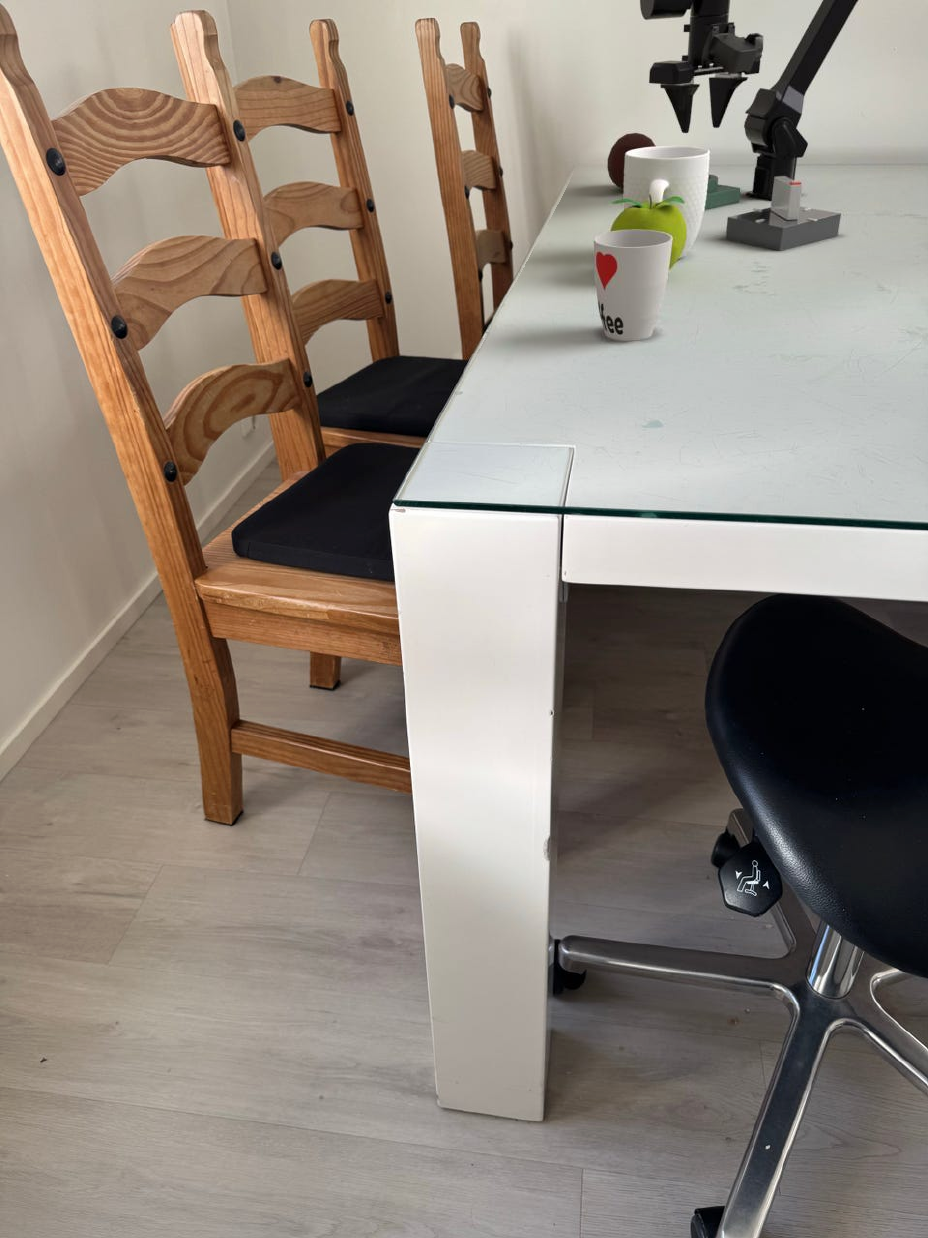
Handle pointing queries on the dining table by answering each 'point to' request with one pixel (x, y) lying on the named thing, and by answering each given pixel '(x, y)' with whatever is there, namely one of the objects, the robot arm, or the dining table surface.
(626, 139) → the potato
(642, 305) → the cup
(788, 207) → the red-tipped white block
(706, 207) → the tap control
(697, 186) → the mug
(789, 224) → the base
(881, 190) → the dining table surface
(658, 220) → the fruit
